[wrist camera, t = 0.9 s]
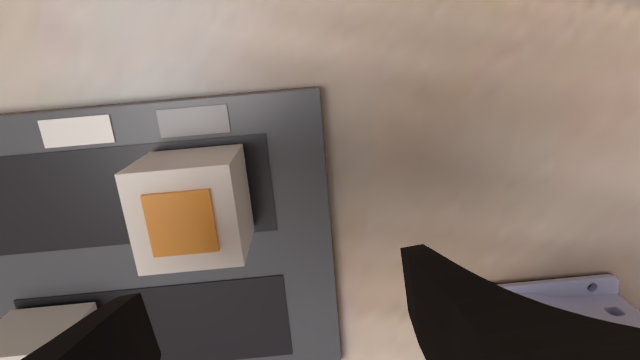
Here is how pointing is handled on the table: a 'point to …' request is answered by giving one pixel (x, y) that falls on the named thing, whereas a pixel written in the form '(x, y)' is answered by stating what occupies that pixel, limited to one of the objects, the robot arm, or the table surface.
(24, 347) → the white orange block
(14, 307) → the switch plate
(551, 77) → the table surface
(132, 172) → the white orange cube
